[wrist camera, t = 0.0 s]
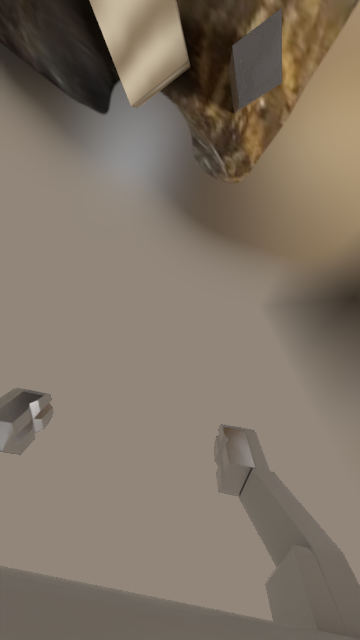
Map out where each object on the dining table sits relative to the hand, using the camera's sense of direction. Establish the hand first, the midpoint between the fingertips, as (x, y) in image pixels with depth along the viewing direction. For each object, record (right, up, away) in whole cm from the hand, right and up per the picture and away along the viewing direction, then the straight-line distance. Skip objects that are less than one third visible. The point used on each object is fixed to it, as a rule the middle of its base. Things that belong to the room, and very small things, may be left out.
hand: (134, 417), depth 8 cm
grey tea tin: (+15, +50, +24) cm, 57 cm away
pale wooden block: (-4, +55, +22) cm, 59 cm away
